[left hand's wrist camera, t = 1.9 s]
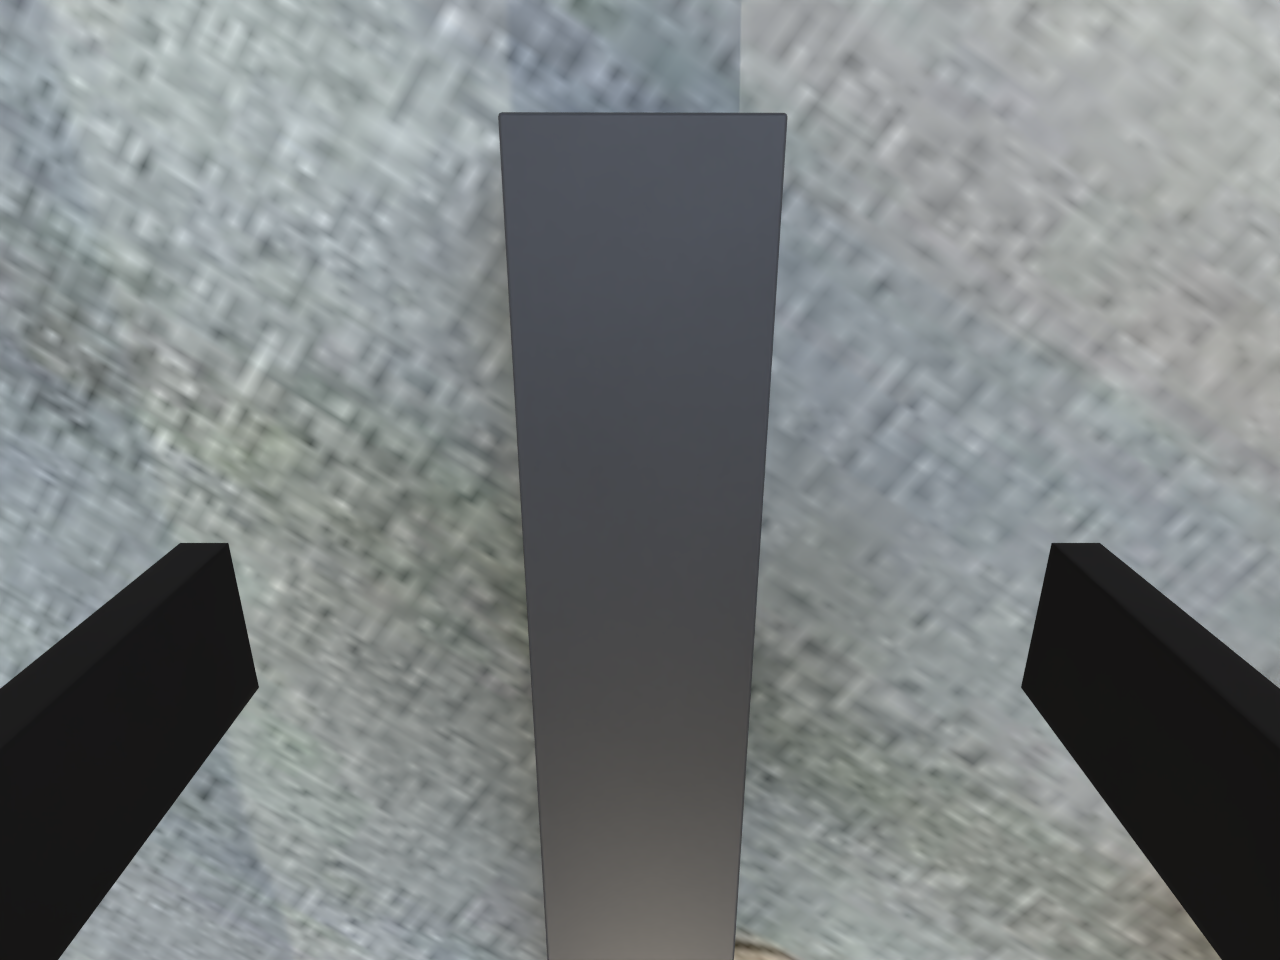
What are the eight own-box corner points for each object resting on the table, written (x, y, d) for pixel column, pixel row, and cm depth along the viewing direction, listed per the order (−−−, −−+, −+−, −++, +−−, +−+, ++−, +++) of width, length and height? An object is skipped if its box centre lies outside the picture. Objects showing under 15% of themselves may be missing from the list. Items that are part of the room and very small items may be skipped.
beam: (544, 131, 23) (497, 112, 15) (739, 131, 23) (788, 113, 15) (586, 1191, 41) (574, 1417, 34) (693, 1191, 41) (704, 1417, 34)
